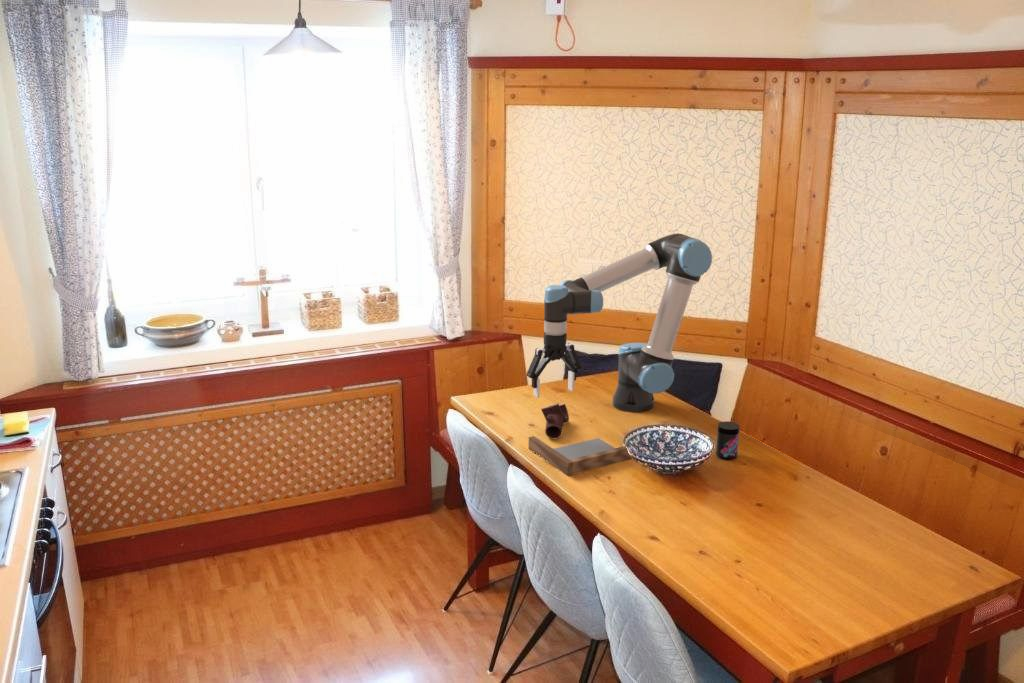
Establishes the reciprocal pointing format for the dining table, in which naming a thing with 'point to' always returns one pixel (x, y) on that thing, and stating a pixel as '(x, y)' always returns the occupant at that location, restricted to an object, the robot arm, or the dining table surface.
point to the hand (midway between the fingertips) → (553, 393)
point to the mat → (584, 448)
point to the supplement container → (727, 440)
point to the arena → (580, 462)
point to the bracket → (555, 419)
